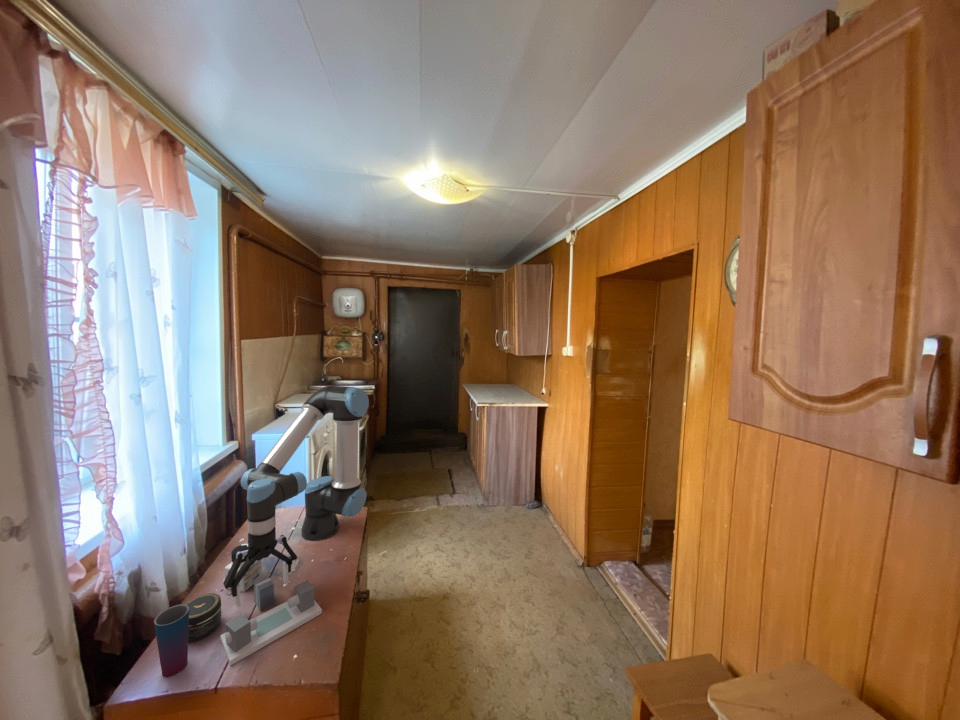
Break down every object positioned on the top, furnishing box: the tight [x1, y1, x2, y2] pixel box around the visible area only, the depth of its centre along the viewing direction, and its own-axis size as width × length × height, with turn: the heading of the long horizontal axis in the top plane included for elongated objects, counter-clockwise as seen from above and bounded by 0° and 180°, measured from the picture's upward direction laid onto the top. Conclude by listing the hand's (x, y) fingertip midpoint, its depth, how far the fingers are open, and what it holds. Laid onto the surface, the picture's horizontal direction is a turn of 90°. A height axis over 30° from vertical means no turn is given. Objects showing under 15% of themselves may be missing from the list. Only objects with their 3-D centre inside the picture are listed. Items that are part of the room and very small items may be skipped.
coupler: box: [253, 574, 275, 612], centre depth 114 cm, size 6×4×7 cm
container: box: [224, 542, 263, 593], centre depth 122 cm, size 8×8×13 cm
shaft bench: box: [219, 579, 323, 666], centre depth 105 cm, size 24×11×8 cm, turn 137°
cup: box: [153, 603, 189, 678], centre depth 91 cm, size 7×7×15 cm
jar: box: [185, 592, 222, 643], centre depth 104 cm, size 10×10×8 cm
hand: (262, 593), depth 113 cm, fingers open, 13 cm apart
